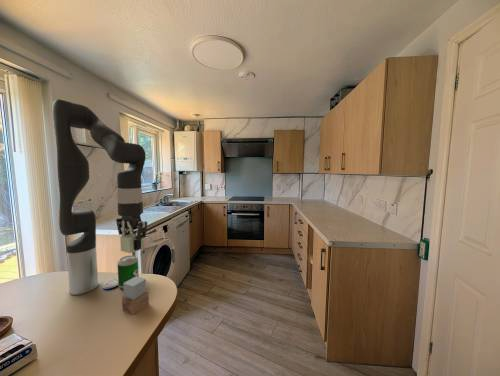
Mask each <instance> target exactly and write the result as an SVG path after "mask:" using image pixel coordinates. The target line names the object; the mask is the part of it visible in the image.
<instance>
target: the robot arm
mask: <svg viewBox="0 0 500 376" xmlns="http://www.w3.org/2000/svg"><path fill="white" fill-rule="evenodd" d="M51 116H52V117H51V118H52V124H53V130H54V136H55V143H56V144H55V145H56V157H57V158H56V160H57V161H56V162H57V163H56V165H57V168H56V169H57V179H58V180H57V181H58V188H59V190H58V191H59V211H58V212H59V216H58V219H59V220H58V223H59V230H60V233H61V234H62V235H63V236H72V235H77V234H82V235H80V236H79V237H78V238H76V239H74V240H73V241H70V242H68V244H67V245H66V260H67V272H68V274H67V275H68V288H69V289H68V290H69V294H70V295H73V296H76V295H83V294H87V293H89V292H91V291H93V290H96V288H97V287H98V286H99V273H98V259H97V257H98V255H97V233H96V232H97V217H96V214H95V212H94V210H92V209H80V210H72V209H73V206H74V202H75V201H76V199H77V197H78V195H79V194H80V193H81V192H82V191H83V189H84V188H85V186H86V185H87V184H88V182H89V180H90V165H89V164H90V163H89V161H88V159H87V156H86V155H85V154H84V153H83V151H82V150H81V149H80V148H79V146H78V145H77V144H76V141H74V137H73V134H72V128H75V129H82V130H83V129H84V130H87V131H89V132H90V136H91V139H92V140H93V141H94V143H96V144H97V145H99V146H100V147H101V148H103V149H104V150H105V152H106V153H107V155H108V157H109V158H110V160H112V161H114V162H116V163H118V164H128V167H127V169H124V170H121V171H118V172H117V174H116V176H117V177H116V179H117V181H116V182H117V193H116V194H117V196H116V198H117V199H116V200H117V201H116V202H117V215H118V216H119V218H116V220H115V222H116V225H117V231H118V235H119V236H125V235H128V234H132V235H133V239H134V250H135V252H137V250H138V251H140V250H142V249H141V238H143V239H144V238H146V236H147V227H148V221H147V220H146V221H143V220H142V218H141V215H142V214H143V213H144V198H143V189H142V174H143V170H144V165H145V162H146V157H147V156H146V152H145V149H144V147H143V146H142V145H140V144H137V143H133V142H132V143H131V142H126V141H125V139H124V137H122V135H120V134H119V133H118V132H117V131H115V130H114V129H112V128H110V127H109V126H108V125H106V124H105V122H103V121H102V120H101V119H100V118H99V116H97V114H96V113H95V112H94V111H92V110H91V108H89V107H88V106H86V105H84V104H80V103H77V102H72V101H69V100H66V99H62V98H61V99H60V98H58V99H55V100H54V101H53V103H52V105H51ZM136 233H137V236H136ZM139 249H140V250H139Z"/></svg>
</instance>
